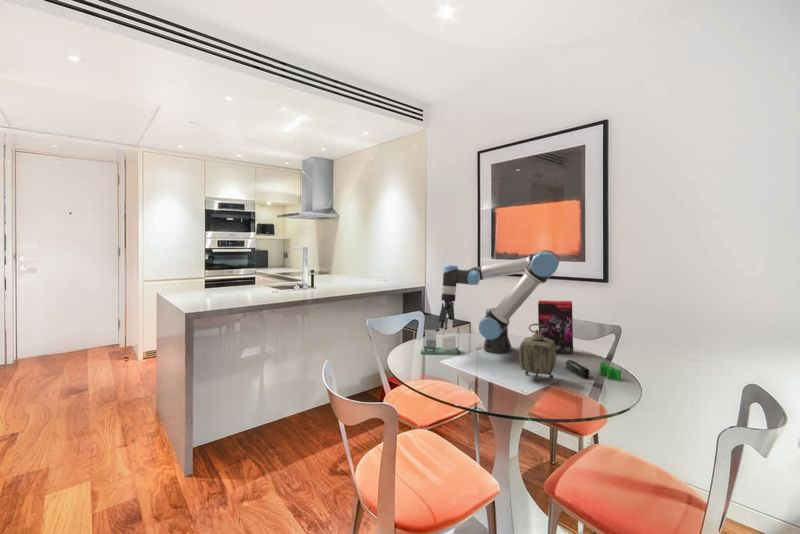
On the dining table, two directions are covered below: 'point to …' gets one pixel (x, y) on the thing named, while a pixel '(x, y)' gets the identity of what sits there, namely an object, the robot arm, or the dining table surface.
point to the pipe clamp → (610, 372)
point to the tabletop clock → (537, 354)
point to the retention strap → (430, 337)
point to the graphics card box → (557, 323)
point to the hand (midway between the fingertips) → (445, 332)
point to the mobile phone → (577, 369)
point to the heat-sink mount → (447, 348)
